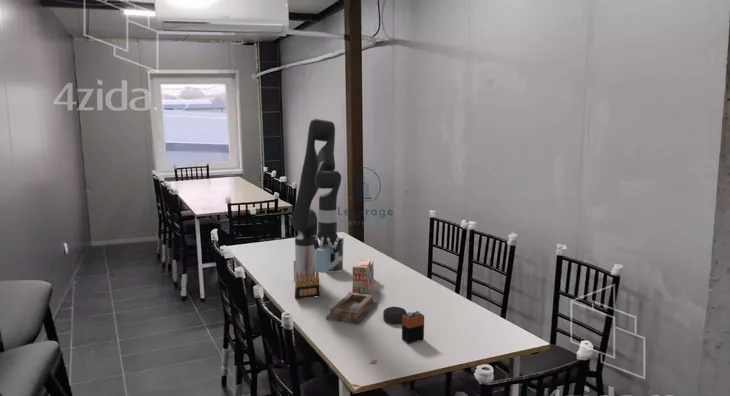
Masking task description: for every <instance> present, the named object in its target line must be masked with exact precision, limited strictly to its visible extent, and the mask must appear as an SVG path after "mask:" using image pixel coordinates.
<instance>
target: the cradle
mask: <svg viewBox="0 0 730 396" xmlns="http://www.w3.org/2000/svg"><path fill="white" fill-rule="evenodd" d="M377 305H378V300H374V295H372V294H358V293H352V291H351V292H348V293H347V294H346V295H345V296H344V297H342V298H341V299H340V301H338V302H337V303H336V304H334V306H332V307H331V308H330V311H329V313H327V315H326V319H327V320H328V321H335V322H340V323H347V324H352V325H353V324H356V325H359V324H360V323H361V322H362V321H363V320H364V319H365V318H366V317H367V316H368V315H369V313H371V311H372V310H374V308H375V307H376V306H377Z"/></svg>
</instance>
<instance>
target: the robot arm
mask: <svg viewBox="0 0 730 396" xmlns="http://www.w3.org/2000/svg"><path fill="white" fill-rule="evenodd" d="M335 138H336V127H335V124H334V122H333V121H332V120H331V121H330V120H325V119H321V118H312V119H311V120H310V123H309V127H308V133H307V140H306V147H305V149H306V150H305V156H304V158H303V159H304V160H303V164H302V169H301V173H300V174H301V175H300V181H299V186H298V192H297V197H296V202H295V205H294V208H293V212H292V216H291V225H292V228H293V229H295V231H296V232H297V231H298V234H297V235H296V237H295V239H294V244H295V245H294V254H295V255H294V257H295V258H294V259H293V280H294V281H295V280H296V272H297V271H298V276H299V279H300V271H302V275H303V279H304V271H305V270H306V275H307V278H308V270H310V274H311V278H312V270H314V273H315V274H316V272H315V250H316V249H318V248H320V247H323V246H324V245H329V248H331V262H334V260H335V253H337V252H339V251H340V249H341V246H342V243H343V242H344V241H345V240H344V239H345V238H343V237H340V236H338V234H337V233H338V231H337V230H338V211H337V210H338V209H337V202H338V201H337V200H338V194H339V189H340V186H341V183H342V175H341V173H340V172H339V171H337V170H336V162H335V141H336V140H335ZM316 141H318V142H325V144H324V145H323V146H322V147H321V148H320V149H319V151H318V152H317V150H316V145H315V144H316ZM319 189H326V190H327V189H331V191H330V192H327V193H323V194H320V195H319V198H318V214H317V213H316V212H315V210H314V209H312V208H311V205H312V202H313V199H314V198H315V196H316V195H317V193H318V191H319ZM317 215H318V216H317ZM336 240H337V243H338V244H337V247H336V248H335V241H336ZM319 241H320V243H319ZM343 244H344V243H343Z"/></svg>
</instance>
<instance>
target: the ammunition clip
mask: <svg viewBox="0 0 730 396" xmlns="http://www.w3.org/2000/svg"><path fill="white" fill-rule="evenodd" d="M319 273H320V272H315V273H314V270H312V278H311V274H310V270H308V278H307V275H306V270H305V271H304V279H303V275H302V271H300V279H299V276H298V271H297V272H296V280H294V281H295V283H294V285H295V286H294V299H295V300H301V299H307V298H308V299H309V297H310V298H315V296H318V297H321V292H320V276H319Z"/></svg>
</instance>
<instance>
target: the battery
mask: <svg viewBox="0 0 730 396" xmlns="http://www.w3.org/2000/svg"><path fill="white" fill-rule="evenodd" d="M401 326H402V327H401V340H403V341H404V342H406V343H407V344H412V343H415V342H419V341H423V340H424V339H425V338H424V337H425V315H424V314H423V313H421V311H418V310H416V311H414V312H411V311H410V312H409V311H408V312H407V314H405V315H403V316H402V323H401Z"/></svg>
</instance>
